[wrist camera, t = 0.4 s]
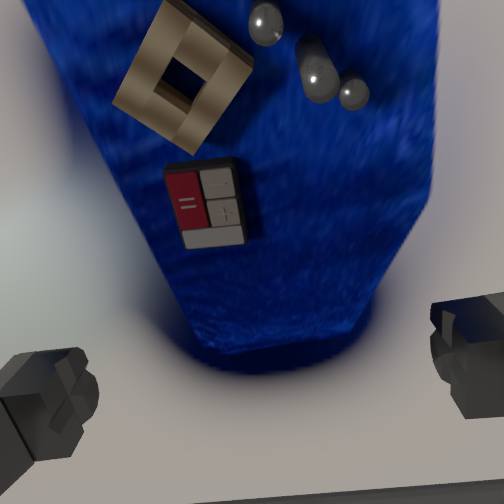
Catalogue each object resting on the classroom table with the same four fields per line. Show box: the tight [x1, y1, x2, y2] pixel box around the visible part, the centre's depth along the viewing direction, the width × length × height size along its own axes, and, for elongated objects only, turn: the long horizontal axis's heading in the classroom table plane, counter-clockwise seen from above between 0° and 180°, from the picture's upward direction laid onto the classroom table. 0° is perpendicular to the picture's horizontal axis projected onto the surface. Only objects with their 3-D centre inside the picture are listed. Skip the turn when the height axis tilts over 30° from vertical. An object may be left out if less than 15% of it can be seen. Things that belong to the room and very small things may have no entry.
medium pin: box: [249, 0, 283, 46], centre depth 44 cm, size 4×4×9 cm
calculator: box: [162, 156, 248, 250], centre depth 64 cm, size 11×4×15 cm
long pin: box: [295, 33, 340, 103], centre depth 45 cm, size 4×4×14 cm
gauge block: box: [112, 0, 254, 155], centre depth 50 cm, size 14×12×5 cm
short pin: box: [337, 69, 370, 111], centre depth 51 cm, size 4×4×5 cm
